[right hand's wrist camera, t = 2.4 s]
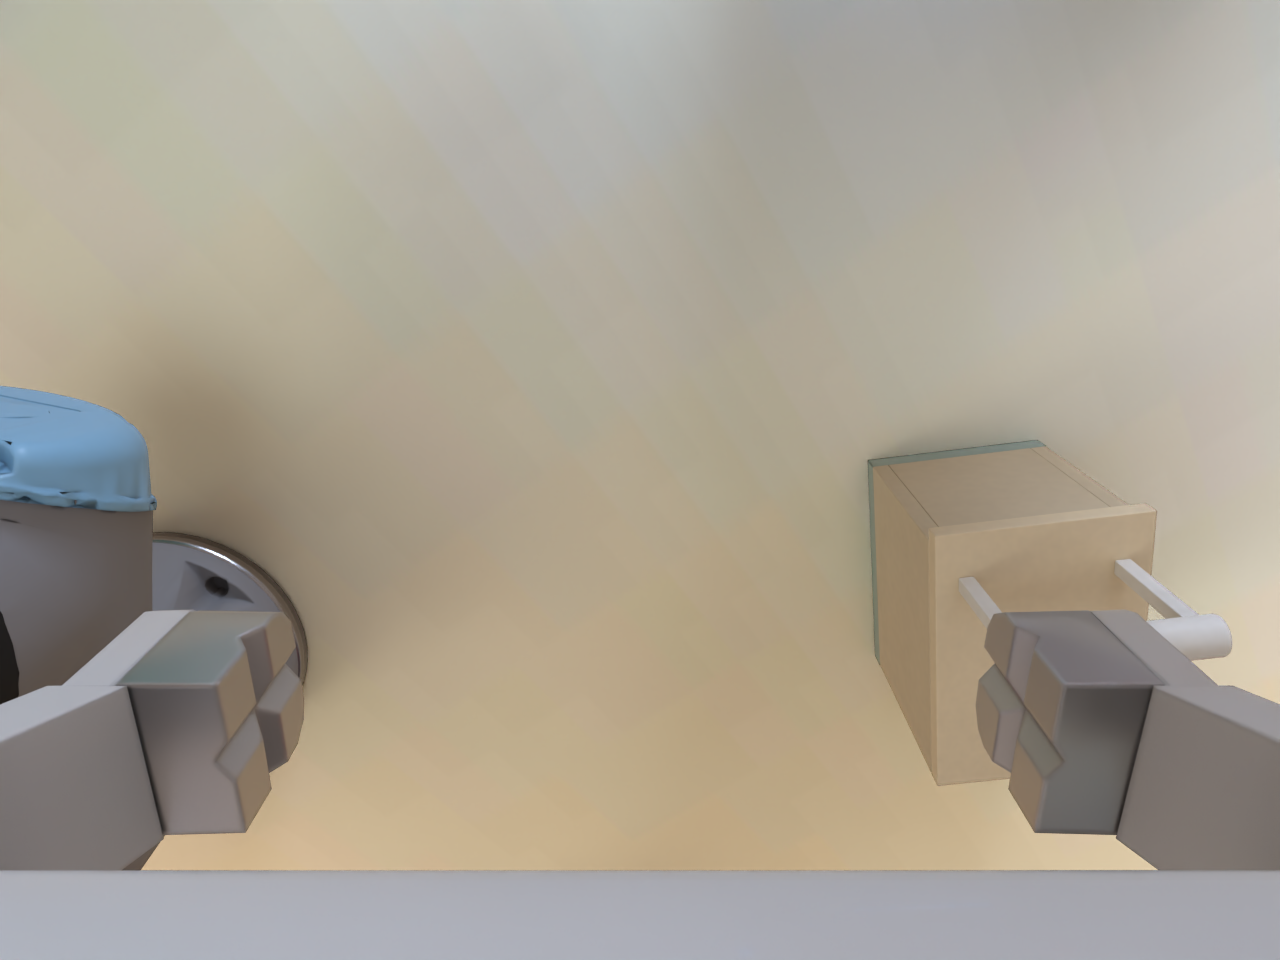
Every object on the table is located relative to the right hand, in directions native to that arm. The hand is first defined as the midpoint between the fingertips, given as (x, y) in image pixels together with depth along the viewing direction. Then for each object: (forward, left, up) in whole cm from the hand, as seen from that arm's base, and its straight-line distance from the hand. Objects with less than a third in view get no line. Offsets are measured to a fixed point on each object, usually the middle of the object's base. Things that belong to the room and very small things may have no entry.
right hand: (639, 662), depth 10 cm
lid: (-8, +24, -27) cm, 37 cm away
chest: (-7, +24, -38) cm, 46 cm away
